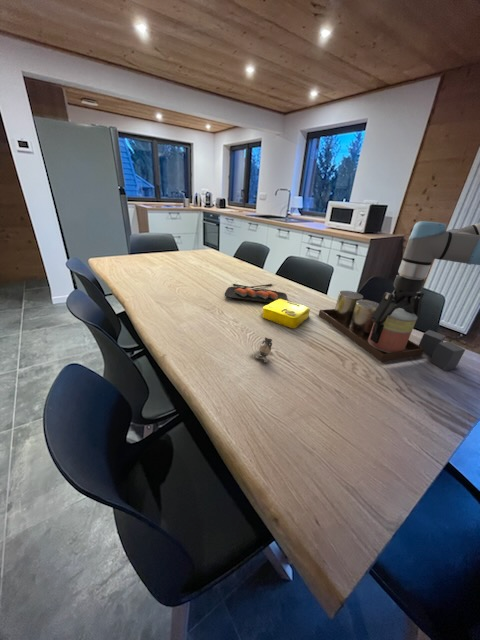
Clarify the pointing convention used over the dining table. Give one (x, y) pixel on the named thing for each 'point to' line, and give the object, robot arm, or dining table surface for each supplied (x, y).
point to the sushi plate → (254, 294)
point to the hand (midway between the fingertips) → (387, 339)
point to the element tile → (286, 313)
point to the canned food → (395, 331)
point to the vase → (265, 349)
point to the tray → (409, 351)
